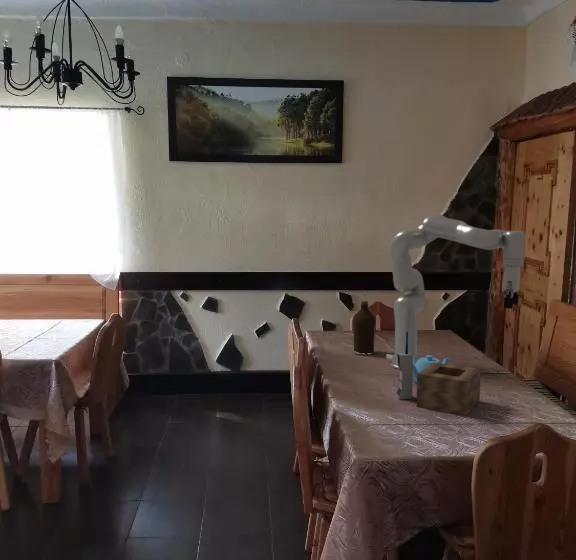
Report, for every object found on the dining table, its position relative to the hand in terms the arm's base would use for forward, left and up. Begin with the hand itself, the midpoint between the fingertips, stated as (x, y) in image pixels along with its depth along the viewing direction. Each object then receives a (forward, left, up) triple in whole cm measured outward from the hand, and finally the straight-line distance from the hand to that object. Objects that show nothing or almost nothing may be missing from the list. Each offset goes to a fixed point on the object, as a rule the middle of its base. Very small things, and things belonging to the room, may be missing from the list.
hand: (510, 306), depth 234 cm
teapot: (-28, -14, -31) cm, 44 cm away
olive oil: (-69, +13, -31) cm, 76 cm away
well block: (-13, -36, -31) cm, 49 cm away
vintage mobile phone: (-29, -38, -31) cm, 57 cm away
